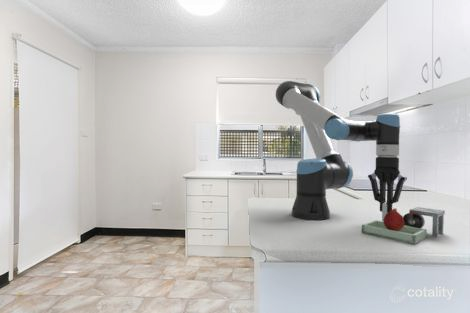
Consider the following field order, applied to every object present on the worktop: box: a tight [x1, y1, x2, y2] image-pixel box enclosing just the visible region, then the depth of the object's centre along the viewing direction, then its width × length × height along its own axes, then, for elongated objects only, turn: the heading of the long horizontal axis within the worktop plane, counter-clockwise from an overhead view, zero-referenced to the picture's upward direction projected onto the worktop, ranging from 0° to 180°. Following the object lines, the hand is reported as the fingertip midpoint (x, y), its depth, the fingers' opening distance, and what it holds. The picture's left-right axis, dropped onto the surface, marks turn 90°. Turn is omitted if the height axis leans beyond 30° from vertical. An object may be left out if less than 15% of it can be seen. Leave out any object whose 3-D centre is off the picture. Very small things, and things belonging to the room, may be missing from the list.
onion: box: [384, 208, 404, 231], centre depth 94 cm, size 6×6×8 cm
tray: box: [361, 220, 428, 245], centre depth 94 cm, size 16×11×2 cm
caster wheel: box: [402, 206, 446, 238], centre depth 99 cm, size 11×8×8 cm
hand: (385, 221), depth 108 cm, fingers closed
